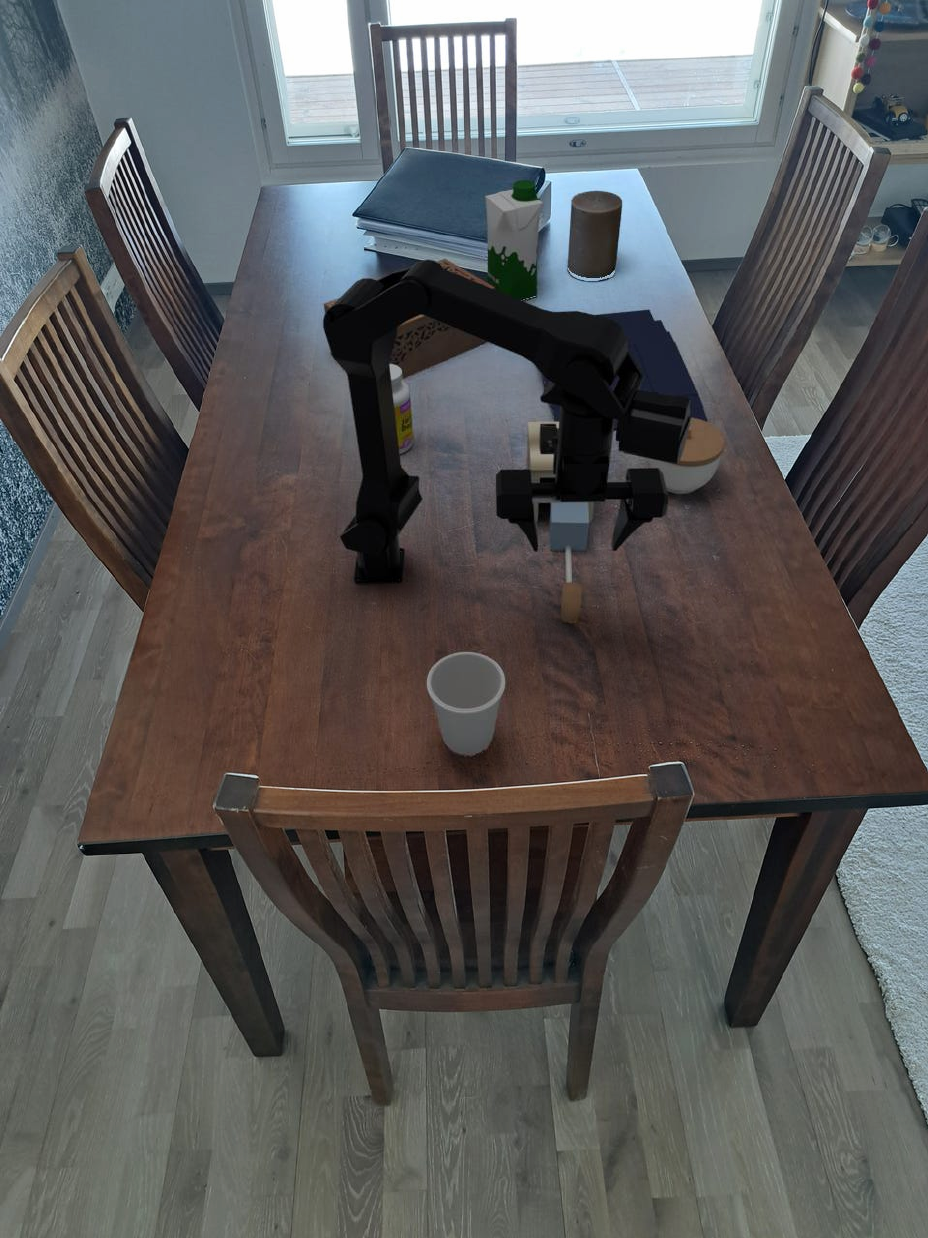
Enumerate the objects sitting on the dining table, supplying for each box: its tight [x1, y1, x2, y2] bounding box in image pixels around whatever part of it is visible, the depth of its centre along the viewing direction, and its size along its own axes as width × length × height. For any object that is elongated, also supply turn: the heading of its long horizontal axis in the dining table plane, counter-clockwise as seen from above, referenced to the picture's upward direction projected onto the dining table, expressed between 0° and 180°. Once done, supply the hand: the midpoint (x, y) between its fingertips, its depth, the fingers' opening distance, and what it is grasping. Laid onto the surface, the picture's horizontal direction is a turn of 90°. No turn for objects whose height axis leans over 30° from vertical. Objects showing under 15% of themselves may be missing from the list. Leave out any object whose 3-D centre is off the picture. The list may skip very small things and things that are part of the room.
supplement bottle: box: [390, 364, 414, 455], centre depth 138 cm, size 7×7×13 cm
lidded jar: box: [646, 418, 726, 495], centre depth 131 cm, size 11×11×9 cm
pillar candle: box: [567, 190, 623, 278], centre depth 175 cm, size 10×10×15 cm
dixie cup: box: [426, 651, 506, 755], centre depth 100 cm, size 8×8×10 cm
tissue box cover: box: [323, 258, 496, 380], centre depth 159 cm, size 26×14×10 cm, turn 128°
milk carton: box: [485, 179, 544, 300], centre depth 168 cm, size 9×9×20 cm
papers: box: [541, 309, 709, 430], centre depth 153 cm, size 24×30×4 cm
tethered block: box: [549, 502, 590, 623], centre depth 120 cm, size 19×5×5 cm, turn 177°
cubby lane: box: [525, 421, 595, 523], centre depth 129 cm, size 11×9×9 cm
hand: (574, 548), depth 107 cm, fingers open, 9 cm apart
